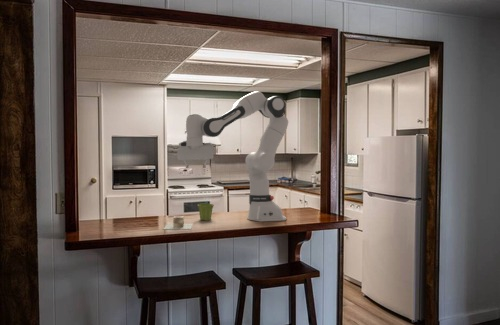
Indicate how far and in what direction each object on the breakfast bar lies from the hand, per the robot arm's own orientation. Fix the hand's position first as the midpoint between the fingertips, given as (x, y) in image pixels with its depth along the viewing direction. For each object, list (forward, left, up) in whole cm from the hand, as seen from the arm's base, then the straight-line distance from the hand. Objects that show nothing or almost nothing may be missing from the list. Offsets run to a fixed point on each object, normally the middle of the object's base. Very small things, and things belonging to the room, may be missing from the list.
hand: (195, 167), depth 237 cm
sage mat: (+8, +15, -30) cm, 35 cm away
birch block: (+8, +15, -30) cm, 34 cm away
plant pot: (-5, -6, -30) cm, 31 cm away
